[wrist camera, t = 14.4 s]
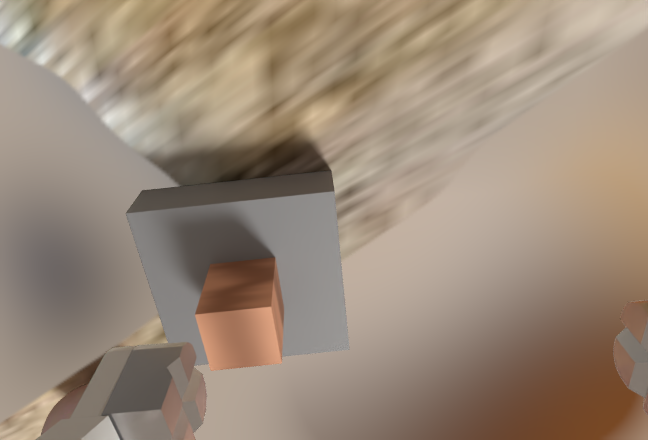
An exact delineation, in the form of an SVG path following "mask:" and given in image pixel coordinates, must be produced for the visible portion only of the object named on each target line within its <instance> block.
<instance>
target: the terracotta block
mask: <svg viewBox="0 0 648 440" xmlns="http://www.w3.org/2000/svg"><path fill="white" fill-rule="evenodd" d="M195 317H196V320H197V324H198V328H199V331H200V335H201V338H202V342H203V345H204V349H205V352H206V356H207V359H208V363H209V366H210V370H211V371H213V370H223V369H232V368H241V367H251V366H261V365H270V364H279V363H282V348H283V327H284V304H283V299H282V293H281V287H280V281H279V275H278V269H277V263H276V258H275V257H274V258H264V259H255V260H245V261H236V262H226V263H217V264H210V267H209V270H208V273H207V277H206V280H205V283H204V286H203V290H202V293H201V296H200V299H199V303H198V306H197V309H196V313H195Z"/></svg>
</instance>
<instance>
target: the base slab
mask: <svg viewBox="0 0 648 440" xmlns="http://www.w3.org/2000/svg"><path fill="white" fill-rule="evenodd" d="M126 216H127V219H128V222H129V225H130V228H131V231H132V234H133V237H134V240H135V243H136V246H137V250H138V253H139V255H140V258H141V262H142V265H143V268H144V271H145V274H146V277H147V280H148V283H149V286H150V289H151V292H152V295H153V298H154V301H155V304H156V307H157V310H158V313H159V316H160V319H161V322H162V326H163V329H164V332H165V335H166V338H167V341H168V343H180V342H189V343H191V344H192V345H193V348H194V351H195V353H196V356H197V358H196V361H195V365H205V364H209V363H208V359H207V356H206V352H205V349H204V345H203V342H202V338H201V335H200V331H199V328H198V324H197V320H196V317H195V313H196V309H197V306H198V303H199V299H200V296H201V293H202V290H203V286H204V283H205V280H206V277H207V273H208V270H209V267H210V264H217V263H226V262H236V261H245V260H255V259H264V258H274V257H275V258H276V263H277V269H278V275H279V281H280V287H281V293H282V299H283V304H284V327H283V348H282V356H291V355H300V354H311V353H321V352H330V351H339V350H349V340H348V329H347V319H346V308H345V298H344V287H343V278H342V266H341V256H340V245H339V235H338V224H337V213H336V203H335V192H334V185H333V179H332V172H331V170H330V171H321V172H311V173H302V174H293V175H283V176H274V177H265V178H255V179H246V180H236V181H227V182H218V183H208V184H199V185H190V186H180V187H171V188H163V189H152V190H143V191H142V192H141V193H140V194H139V196H138V197H137V199H136V200H135V201H134V203H133V204H132V205H131V207H130V208H129V210H128V211H127V213H126ZM195 365H194V366H195Z"/></svg>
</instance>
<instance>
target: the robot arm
mask: <svg viewBox="0 0 648 440" xmlns="http://www.w3.org/2000/svg"><path fill="white" fill-rule="evenodd" d="M620 319H621V321H622V322H623V323H624V325H625V326H626V328H625V329H624V330H623V331H622V332H621V333H620V334H619V335H618V336H617V337H616V338H615V343H614V349H613V353H614V360H615V366H616V368H617V370H618V373H619V375H620V377H621V378H622V380H623V381H624V383H625V384H626V386H627V387H628V388H629V389H630V390H632V391H634V392H636V393H637V394H639V395H641V396H642V397H644V406H643V409H644V411H645V412H646V414H647V415H648V300H644V301H634V302H628V303H627V304H626V306H625V307H624V308H623V311H622V315H621V318H620ZM196 358H197V356H196V353H195V351H194V348H193V345H192V344H191V343H189V342H180V343H165V344H150V345H138V346H128V347H112V348H111V349H110V350H108V351H107V352H106V353H105V354H104V356H103V358H102V360H101V362H100V364H99V366H98V367H97V369H96V371H95V373H94V375H93V377H92V378H91V380H90V382H89V384H88V386H87V388H86V389H85V391H84V393H83V395H82V397H81V399H80V400H79V402H78V404H77V406H76V408H75V410H74V411H73V413H72V415H71V417H70V419H61V420H60V421H59V422H57V423H56V424H55V425H54V426H52V427H51V428H50V429H49V430H47V431H46V432H45V433H43V434H42V435H41V436H40V437H38V438H37V439H36V440H196V439H195V436H194V432H195V431H196V430H197V429H198V428H199V427H200V426H201V425H202V424H203V421H204V416H205V412H206V399H207V393H206V386H205V381H204V378H203V374H202V373H201V372H199V371H198V370H197V369H195V368H194V365H195V361H196Z"/></svg>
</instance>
